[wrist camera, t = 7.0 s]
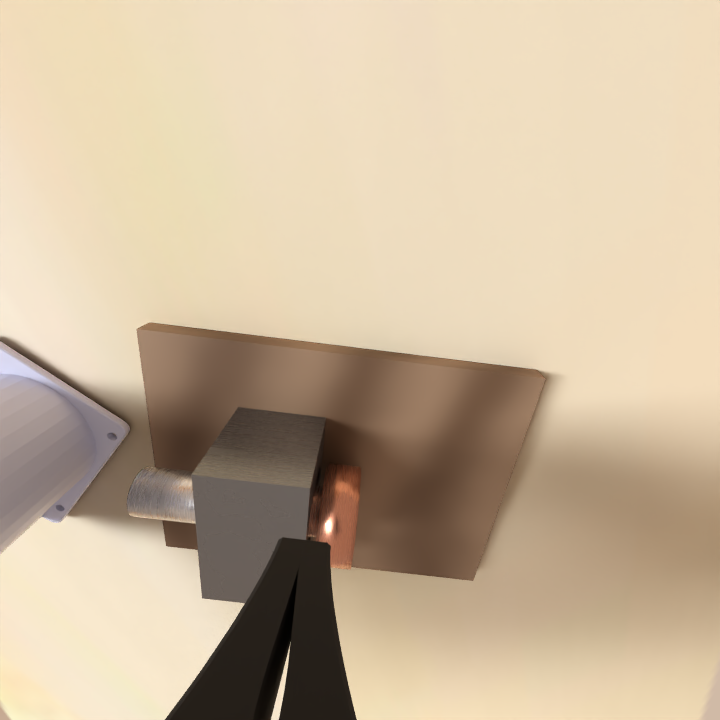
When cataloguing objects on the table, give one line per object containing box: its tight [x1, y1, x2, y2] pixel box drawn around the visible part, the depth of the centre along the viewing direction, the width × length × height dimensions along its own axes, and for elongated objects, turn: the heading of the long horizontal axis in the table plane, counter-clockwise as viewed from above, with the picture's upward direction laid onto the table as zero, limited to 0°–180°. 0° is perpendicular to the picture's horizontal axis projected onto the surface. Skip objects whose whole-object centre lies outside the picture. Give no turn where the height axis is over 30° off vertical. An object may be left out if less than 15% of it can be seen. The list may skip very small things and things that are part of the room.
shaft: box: [127, 463, 361, 569], centre depth 16 cm, size 10×4×4 cm, turn 83°
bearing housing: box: [191, 407, 326, 603], centre depth 17 cm, size 4×7×5 cm, turn 173°
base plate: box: [137, 323, 546, 581], centre depth 19 cm, size 19×14×1 cm
